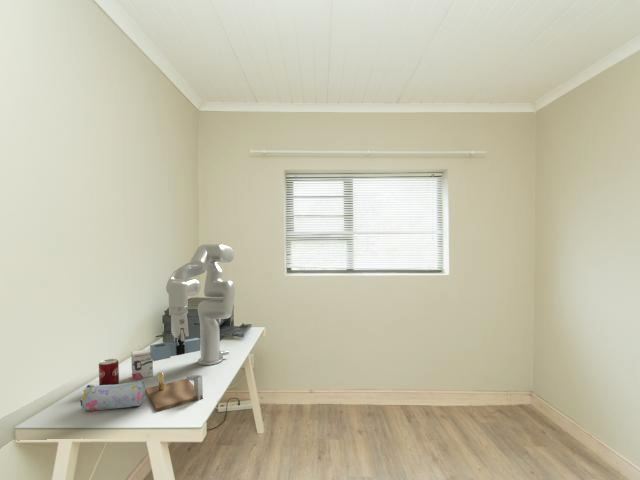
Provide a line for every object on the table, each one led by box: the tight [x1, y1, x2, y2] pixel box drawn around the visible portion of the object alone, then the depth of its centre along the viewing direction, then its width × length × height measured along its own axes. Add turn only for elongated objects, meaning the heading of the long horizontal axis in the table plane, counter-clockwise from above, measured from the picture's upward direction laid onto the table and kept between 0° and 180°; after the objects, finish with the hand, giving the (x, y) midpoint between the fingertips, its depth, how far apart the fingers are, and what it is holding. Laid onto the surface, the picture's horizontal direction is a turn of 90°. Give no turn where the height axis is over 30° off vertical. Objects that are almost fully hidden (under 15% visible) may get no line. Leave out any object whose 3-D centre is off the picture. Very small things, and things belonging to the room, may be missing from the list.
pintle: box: [157, 372, 165, 391], centre depth 146 cm, size 2×2×8 cm
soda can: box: [98, 358, 120, 386], centre depth 151 cm, size 7×7×12 cm
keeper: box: [186, 374, 204, 402], centre depth 141 cm, size 6×3×9 cm, turn 71°
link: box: [149, 337, 201, 362], centre depth 150 cm, size 19×6×5 cm, turn 126°
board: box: [145, 378, 204, 413], centre depth 144 cm, size 17×22×1 cm
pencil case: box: [79, 380, 146, 412], centre depth 135 cm, size 21×9×10 cm, turn 95°
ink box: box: [130, 348, 154, 381], centre depth 165 cm, size 8×5×12 cm, turn 123°
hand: (179, 352), depth 151 cm, fingers closed on link, 3 cm apart
